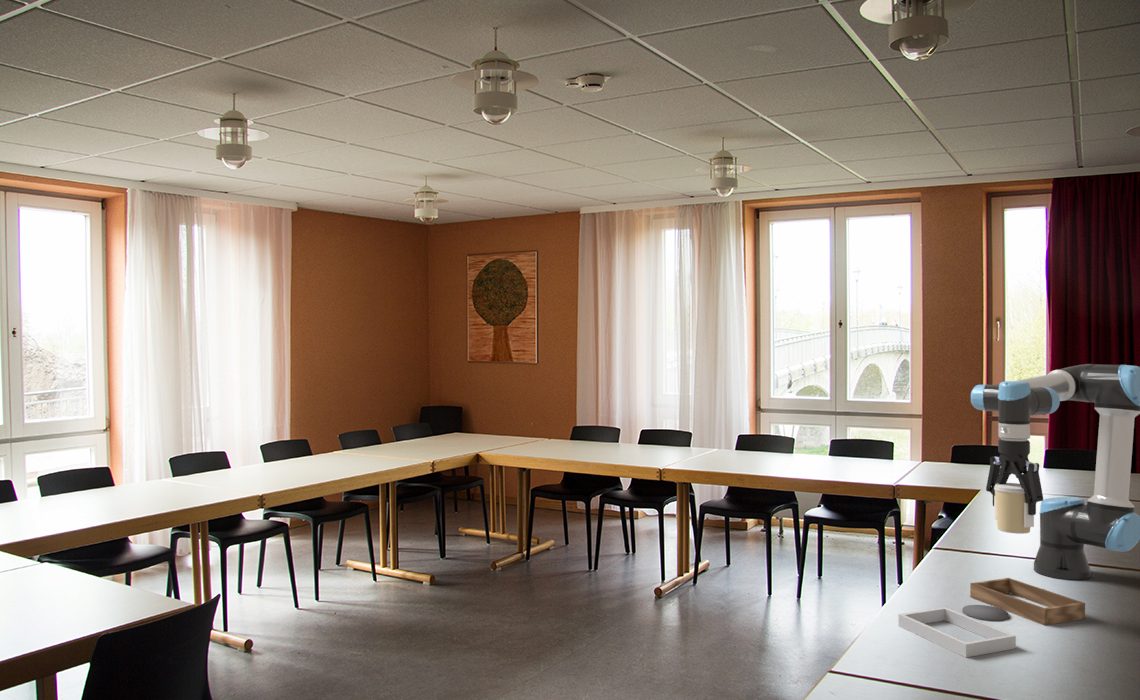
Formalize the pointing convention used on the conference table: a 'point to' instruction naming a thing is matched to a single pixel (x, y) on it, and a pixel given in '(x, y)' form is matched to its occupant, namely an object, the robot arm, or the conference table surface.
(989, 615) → the coaster
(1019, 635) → the conference table surface
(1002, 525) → the coffee cup
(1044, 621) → the frame
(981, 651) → the gray rectangular frame
